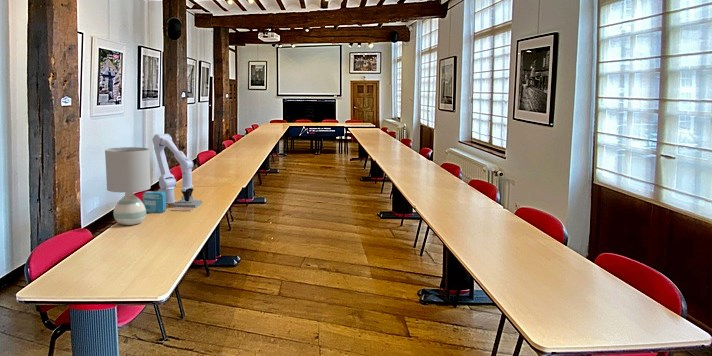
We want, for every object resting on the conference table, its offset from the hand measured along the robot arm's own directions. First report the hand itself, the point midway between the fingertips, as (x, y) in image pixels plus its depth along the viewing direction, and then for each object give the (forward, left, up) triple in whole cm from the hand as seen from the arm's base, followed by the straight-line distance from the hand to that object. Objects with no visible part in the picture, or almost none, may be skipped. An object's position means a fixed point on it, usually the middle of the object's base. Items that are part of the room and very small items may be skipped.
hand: (187, 200), depth 341 cm
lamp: (-15, -48, -3) cm, 50 cm away
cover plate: (0, 0, -3) cm, 3 cm away
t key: (0, 0, -3) cm, 3 cm away
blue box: (-13, -20, -3) cm, 24 cm away
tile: (+1, -12, -3) cm, 12 cm away
